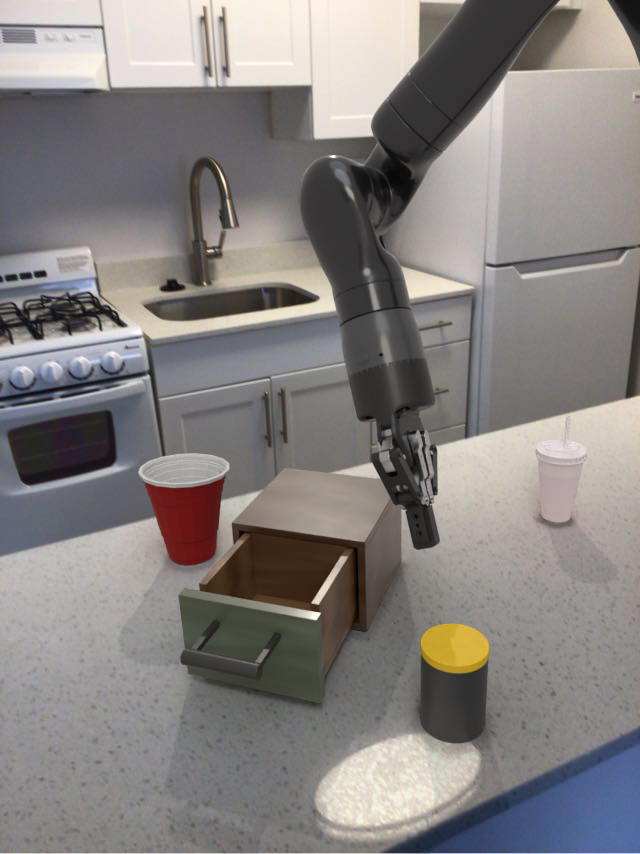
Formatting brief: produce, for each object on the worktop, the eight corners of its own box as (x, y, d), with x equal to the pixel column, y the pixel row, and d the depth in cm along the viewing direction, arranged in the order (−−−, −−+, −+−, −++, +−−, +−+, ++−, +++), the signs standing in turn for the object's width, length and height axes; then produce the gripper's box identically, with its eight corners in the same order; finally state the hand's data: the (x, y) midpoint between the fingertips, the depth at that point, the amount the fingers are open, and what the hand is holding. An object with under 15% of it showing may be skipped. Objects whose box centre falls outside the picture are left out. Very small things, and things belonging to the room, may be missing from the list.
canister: (490, 704, 68) (494, 629, 65) (480, 750, 63) (484, 671, 60) (427, 691, 70) (428, 618, 67) (412, 735, 65) (413, 658, 62)
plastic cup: (253, 541, 97) (247, 454, 92) (204, 584, 88) (194, 490, 83) (184, 525, 101) (175, 442, 97) (131, 564, 92) (118, 474, 88)
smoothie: (588, 526, 97) (598, 424, 92) (538, 528, 97) (545, 426, 92) (572, 503, 103) (581, 407, 98) (525, 505, 103) (531, 408, 98)
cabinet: (366, 632, 78) (365, 542, 74) (238, 608, 83) (231, 522, 79) (401, 560, 91) (401, 481, 87) (289, 543, 96) (284, 467, 92)
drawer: (297, 750, 62) (291, 662, 59) (155, 715, 67) (143, 631, 64) (364, 617, 79) (362, 543, 76) (248, 596, 83) (242, 525, 80)
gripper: (401, 349, 64) (447, 552, 62) (442, 360, 76) (482, 530, 74) (322, 372, 67) (364, 566, 65) (374, 379, 79) (411, 543, 77)
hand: (427, 547), depth 70 cm, fingers closed
